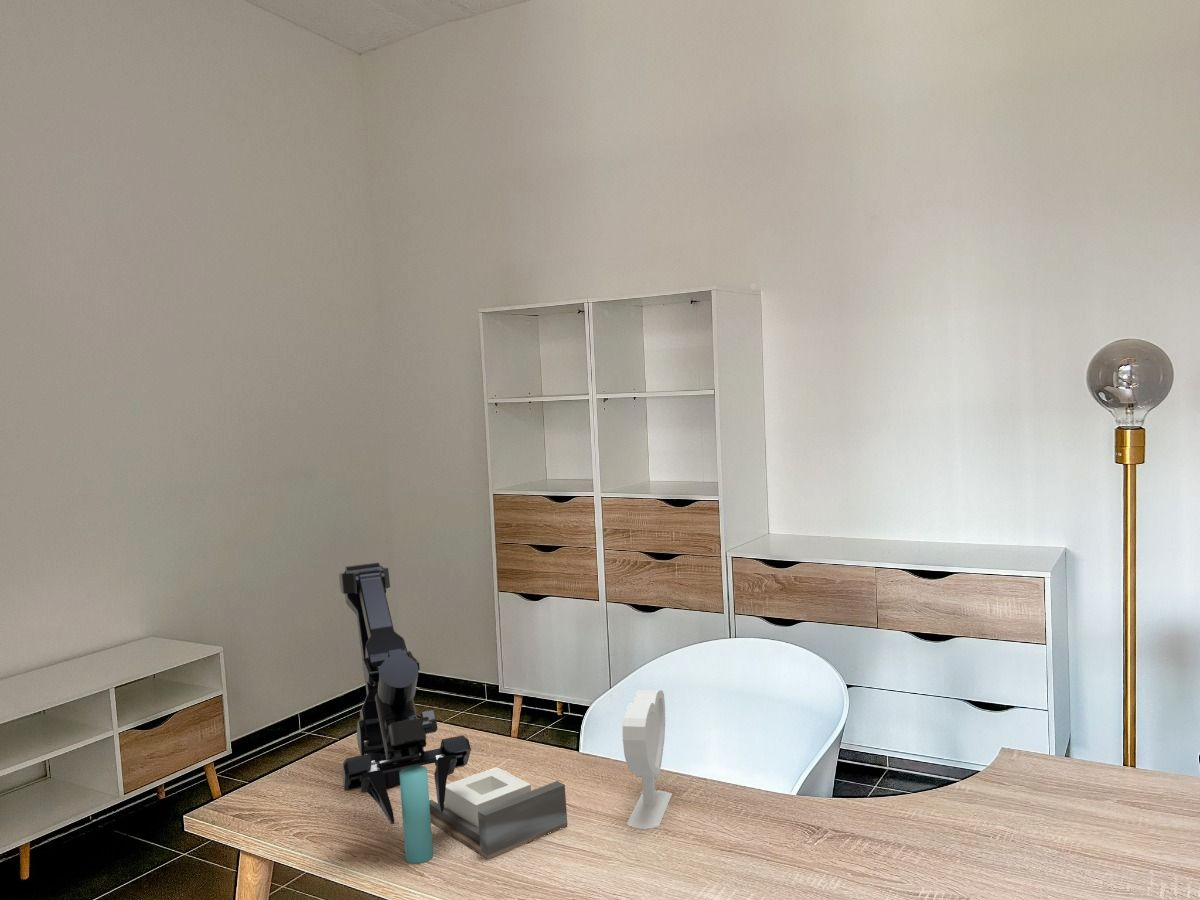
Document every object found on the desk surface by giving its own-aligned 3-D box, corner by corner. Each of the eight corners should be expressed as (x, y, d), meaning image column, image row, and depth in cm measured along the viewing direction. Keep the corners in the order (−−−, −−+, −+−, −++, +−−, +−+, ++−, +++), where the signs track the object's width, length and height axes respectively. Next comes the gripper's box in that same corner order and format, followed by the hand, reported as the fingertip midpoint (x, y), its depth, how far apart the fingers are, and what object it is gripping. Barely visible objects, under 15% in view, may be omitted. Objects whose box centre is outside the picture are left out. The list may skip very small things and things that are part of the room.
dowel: (400, 856, 142) (394, 771, 141) (424, 847, 144) (418, 763, 143) (413, 866, 139) (407, 779, 137) (437, 856, 141) (432, 771, 140)
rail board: (422, 815, 155) (418, 776, 154) (497, 787, 164) (494, 750, 163) (488, 859, 139) (485, 815, 139) (567, 826, 148) (564, 784, 148)
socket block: (445, 814, 153) (443, 785, 153) (498, 794, 159) (496, 766, 159) (478, 835, 145) (476, 805, 145) (532, 813, 152) (530, 784, 151)
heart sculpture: (656, 832, 144) (649, 716, 143) (623, 830, 145) (616, 715, 144) (674, 788, 159) (668, 682, 158) (644, 787, 160) (638, 681, 159)
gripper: (337, 706, 140) (354, 809, 130) (463, 683, 147) (487, 780, 137) (336, 740, 148) (351, 840, 138) (455, 718, 155) (477, 811, 145)
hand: (417, 817), depth 140 cm, fingers open, 7 cm apart
